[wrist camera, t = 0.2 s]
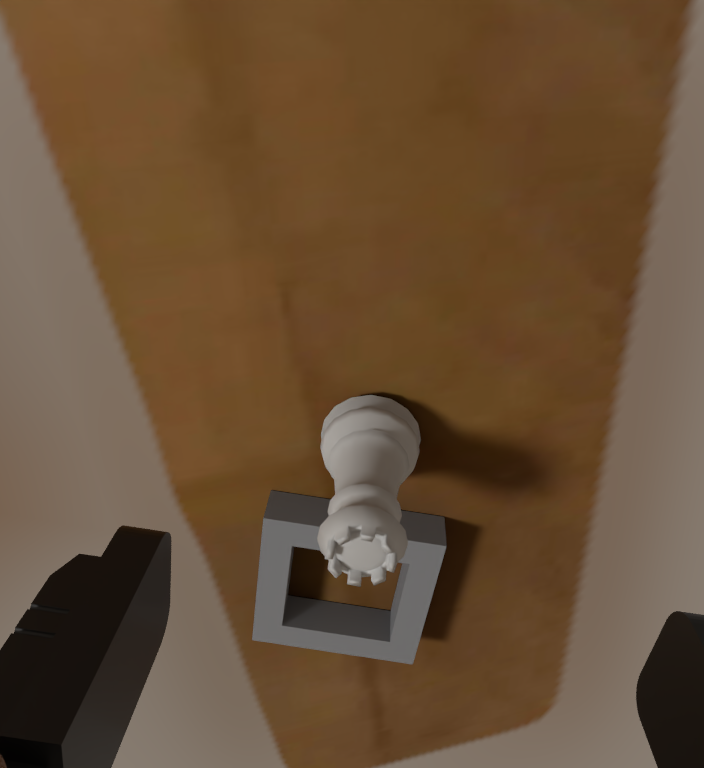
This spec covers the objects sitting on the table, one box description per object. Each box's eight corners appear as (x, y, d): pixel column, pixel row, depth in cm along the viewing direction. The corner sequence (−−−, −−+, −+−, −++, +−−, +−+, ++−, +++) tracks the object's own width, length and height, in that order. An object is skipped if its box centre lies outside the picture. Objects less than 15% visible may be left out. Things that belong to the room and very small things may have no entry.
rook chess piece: (395, 483, 31) (392, 620, 24) (308, 450, 31) (279, 581, 24) (437, 411, 29) (448, 539, 22) (344, 374, 28) (324, 493, 21)
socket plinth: (271, 490, 32) (263, 518, 30) (444, 516, 32) (446, 546, 30) (259, 609, 36) (252, 639, 34) (412, 632, 36) (412, 664, 34)
